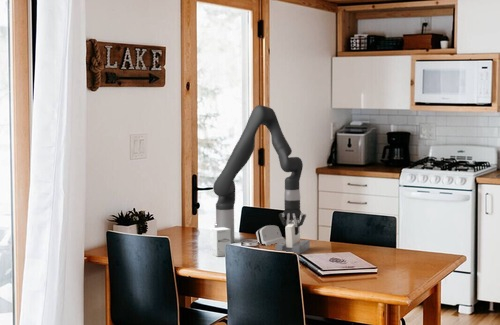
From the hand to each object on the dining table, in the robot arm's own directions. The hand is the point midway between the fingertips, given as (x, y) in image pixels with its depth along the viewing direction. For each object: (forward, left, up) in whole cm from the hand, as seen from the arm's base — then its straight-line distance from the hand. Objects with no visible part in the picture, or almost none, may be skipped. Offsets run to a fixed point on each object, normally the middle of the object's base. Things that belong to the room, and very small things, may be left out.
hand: (292, 234), depth 384 cm
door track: (0, 0, -8) cm, 8 cm away
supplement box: (-29, -20, -8) cm, 36 cm away
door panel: (0, +1, -5) cm, 5 cm away
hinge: (-18, +16, -8) cm, 25 cm away
